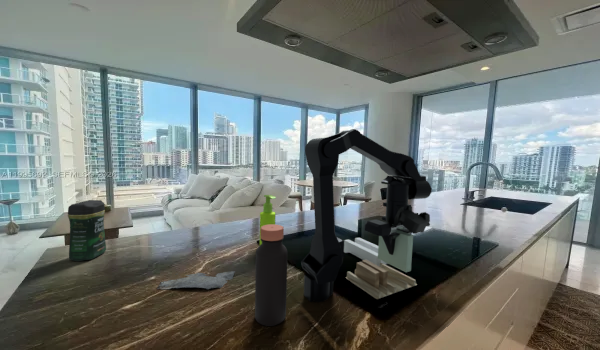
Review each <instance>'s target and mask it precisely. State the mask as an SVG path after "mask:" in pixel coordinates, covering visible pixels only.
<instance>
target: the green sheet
mask: <svg viewBox="0 0 600 350" xmlns="http://www.w3.org/2000/svg"><path fill="white" fill-rule="evenodd" d="M396 233H399V234H400V235H399V236H398V237H396V240H395V247H394V253H393V255H391V254H389V252H388V250H387V247H386V245H385V242H384V240H383V238H382V236H378V245H377V246H378V259H380V260H382V261H384V262H386V263H388V264H387V265H389V266H392V267H393V268H397V269H399V271H403V272H405V273H408V272H411V271H412V259H413V258H412V257H413V245H414V244H413V243H414V234H413V233H411V234H409V233H406V232H403V231H400V230H396Z"/></svg>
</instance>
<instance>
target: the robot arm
mask: <svg viewBox="0 0 600 350" xmlns="http://www.w3.org/2000/svg"><path fill="white" fill-rule="evenodd" d="M349 150H353V151H354V152H355V153H358V154H360V155H362V156H364V157H365V158H367V159H369V160H371V161H373V162H375V163H376V164H378V166H379V168H380V169H381V170H382V171H383V172H384V173H385V174H387V175H386V177H385V178H384V179H382V180H381V181H380V183H381V184H382V185H386V201H385V202H382V207H385V215H383V216H382V217H381V220H379V219H371V220H367V221H366V222H365V223H364V231H365V232H367V233H371V234H373V235H374V236H378V237H379V236H382V238H383V240H384V242H385V245H386V247H387V250H388V252H389V254H391V255H393V253H394V247H395V240H396V237H398V236H399V235H400V234H399V233H396V230H400V231H403V232H406V233H409V234H412V235H414V234H415V235H417V234H419V233H424V232H425V230H426V228H427V227H430V225H431V223H430V222H431V217H430V216H431V215H430V214H429V213H428V212H427V211H423V212H420V213H418V212H414V211H413V206H412V204H409V200H421V199H427V198H429V197H430V196H431V194H432V191H433V189H432V187H431V184H430V182H429V181H428V180H427V176H425V175H420V172H419V170H418V167H417V166H416V164H415V159H414V158H413V157H412V156H410V155H407V154H404V153H400V152H395V151H391V150H389V149H388V148H386V147H385V146H383V145H381V144H379V143H378V142H376V141H374V140H372V139H371V138H369V137H368V136H367V135H364V134H362V133H361V132H360V130H358V129H355V128H352V129H345V130H342V131H340V132H338V133H335V134H333V135H329V136H326V137H325V136H324V137H318V138H312V139H311V140H309V141H308V142H307V143H306V144H305V147H304V154H305V158H306V159H305V160H306V164H307V165H308V168H309V170H310V172H311V175H312V184H313V185H312V186H313V189H312V190H313V206H314V207H313V208H314V209H313V210H314V228H315V229H314V234H313V236H312V239H311V241H310V242H311V243H310V249H309V252H308V253H307V254H306V256H305V257H304V258H303V259H302V260H301V261H300V263H301V267H302V270H304V271H305V272H306V273H304V275H303V276H304V279H303V296H304V298H306V299H307V300H308V301H309V302H311V303H312V302H314V303H315V302H316V303H321V302H325V301H327V300H329V298H330V297H331V296H332V295H333V294H334V282H336V280H337V277H338V274H339V271H340V268H341V266H342V265H343V263H344V258H346V255H345V252H344V239H341V238H340V237H337V235H336V228H335V227H336V226H335V225H336V223H335V202H334V201H335V199H334V198H335V197H334V194H335V193H334V173H335V171H336V169H337V166H338V164H339V158H340V155H341V154H343V153H346V152H347V151H349Z"/></svg>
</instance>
